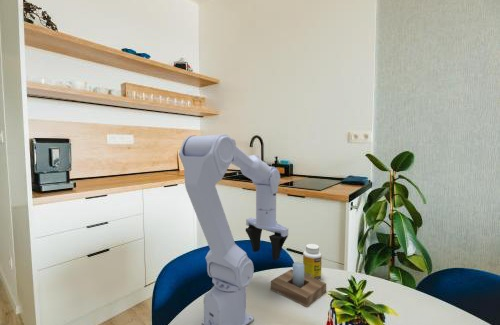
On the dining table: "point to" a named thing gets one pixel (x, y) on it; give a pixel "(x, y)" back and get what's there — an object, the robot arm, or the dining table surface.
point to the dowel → (298, 274)
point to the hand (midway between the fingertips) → (265, 254)
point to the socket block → (299, 295)
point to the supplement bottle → (312, 261)
